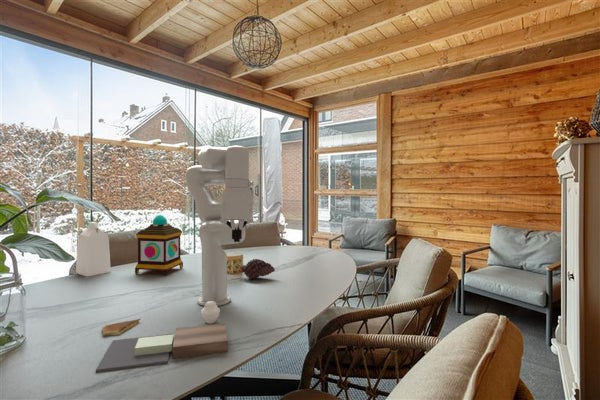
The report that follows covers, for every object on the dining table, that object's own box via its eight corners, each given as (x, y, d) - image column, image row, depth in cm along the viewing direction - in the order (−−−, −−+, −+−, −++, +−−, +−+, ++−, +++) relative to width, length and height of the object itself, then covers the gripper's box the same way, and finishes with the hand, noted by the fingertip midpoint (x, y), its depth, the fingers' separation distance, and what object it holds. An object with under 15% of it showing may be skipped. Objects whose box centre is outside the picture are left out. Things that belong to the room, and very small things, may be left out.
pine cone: (275, 276, 166) (275, 257, 166) (273, 282, 156) (273, 261, 156) (240, 275, 167) (241, 256, 167) (236, 281, 157) (236, 260, 157)
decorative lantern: (153, 266, 185) (153, 213, 184) (186, 267, 183) (186, 213, 182) (130, 275, 166) (130, 215, 165) (167, 277, 163) (167, 216, 162)
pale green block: (134, 355, 85) (134, 348, 85) (139, 345, 91) (139, 338, 91) (171, 351, 88) (171, 343, 88) (173, 341, 94) (173, 334, 93)
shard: (140, 323, 109) (140, 317, 108) (143, 331, 102) (143, 325, 102) (102, 330, 103) (102, 324, 103) (103, 340, 96) (103, 333, 96)
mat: (113, 342, 94) (113, 340, 94) (173, 335, 98) (173, 333, 98) (95, 372, 78) (95, 369, 78) (167, 362, 83) (167, 360, 83)
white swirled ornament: (220, 324, 107) (220, 303, 107) (200, 326, 105) (200, 304, 105) (219, 317, 113) (219, 297, 113) (200, 319, 111) (200, 298, 111)
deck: (176, 338, 97) (176, 328, 97) (224, 332, 101) (224, 323, 101) (172, 358, 85) (172, 347, 85) (227, 351, 89) (227, 340, 89)
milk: (75, 272, 169) (75, 222, 168) (99, 268, 179) (99, 220, 178) (86, 276, 162) (86, 224, 161) (110, 271, 172) (110, 222, 171)
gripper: (258, 185, 112) (257, 239, 113) (212, 184, 108) (212, 240, 108) (262, 185, 105) (261, 242, 105) (213, 184, 100) (213, 244, 101)
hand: (236, 241), depth 107 cm, fingers closed
